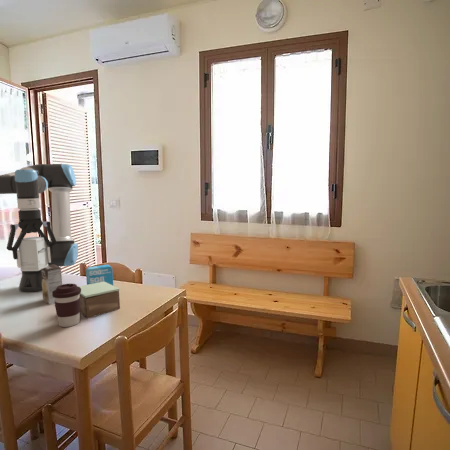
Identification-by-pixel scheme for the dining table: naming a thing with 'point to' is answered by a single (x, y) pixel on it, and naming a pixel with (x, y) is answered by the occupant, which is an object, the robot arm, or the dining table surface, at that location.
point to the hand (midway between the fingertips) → (34, 264)
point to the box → (99, 304)
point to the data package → (99, 274)
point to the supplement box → (33, 254)
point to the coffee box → (50, 281)
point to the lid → (97, 289)
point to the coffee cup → (67, 304)
